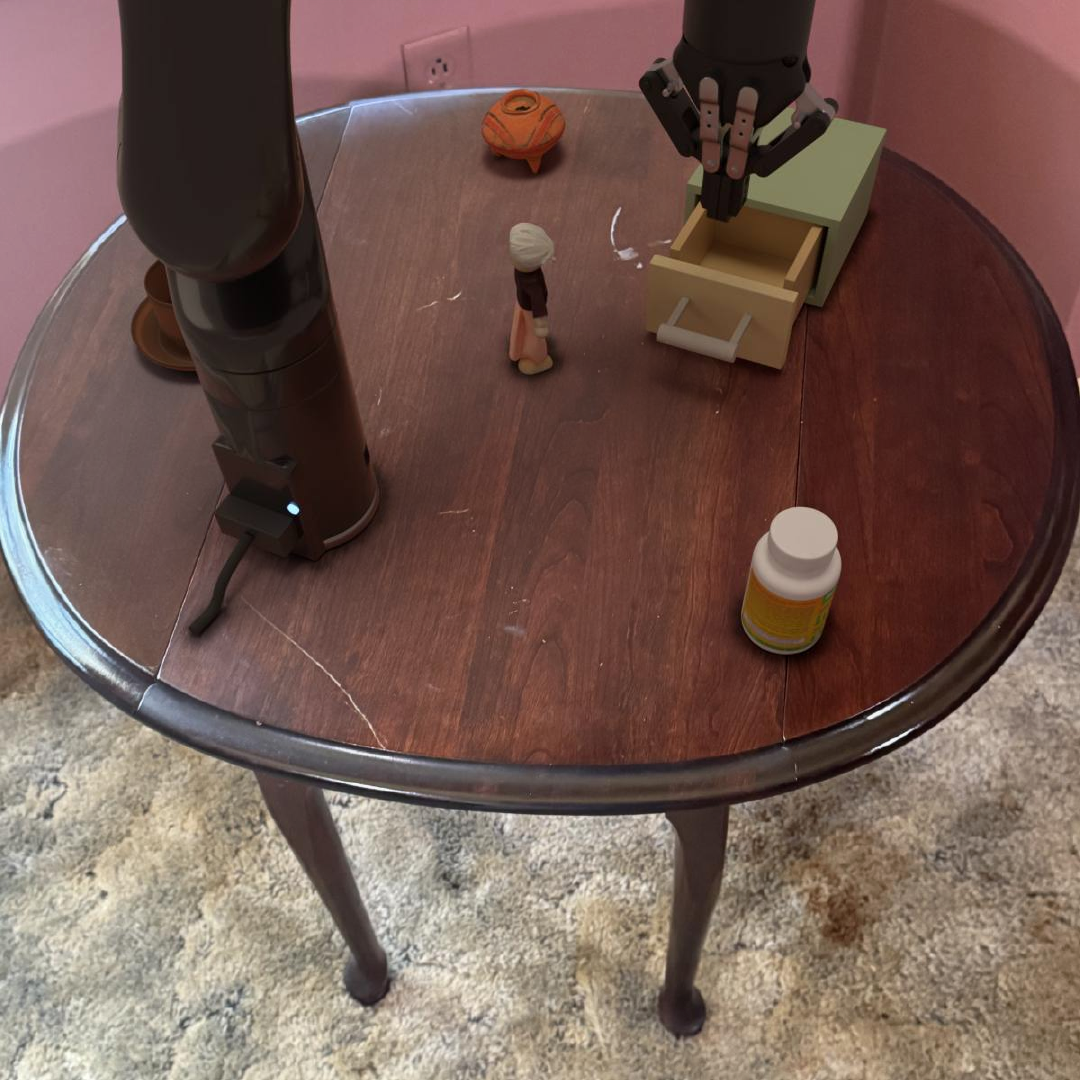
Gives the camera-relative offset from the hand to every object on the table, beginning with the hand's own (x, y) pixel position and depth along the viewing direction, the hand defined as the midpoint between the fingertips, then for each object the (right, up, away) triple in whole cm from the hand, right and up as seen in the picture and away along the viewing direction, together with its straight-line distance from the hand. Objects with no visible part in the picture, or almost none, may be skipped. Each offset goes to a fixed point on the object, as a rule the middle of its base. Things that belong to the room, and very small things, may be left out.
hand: (722, 214), depth 76 cm
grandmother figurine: (-13, -8, +14) cm, 20 cm away
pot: (-14, +14, +31) cm, 37 cm away
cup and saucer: (-40, -5, +17) cm, 44 cm away
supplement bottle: (+4, -28, -3) cm, 28 cm away
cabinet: (+8, +4, +22) cm, 23 cm away
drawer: (+3, -4, +14) cm, 15 cm away
